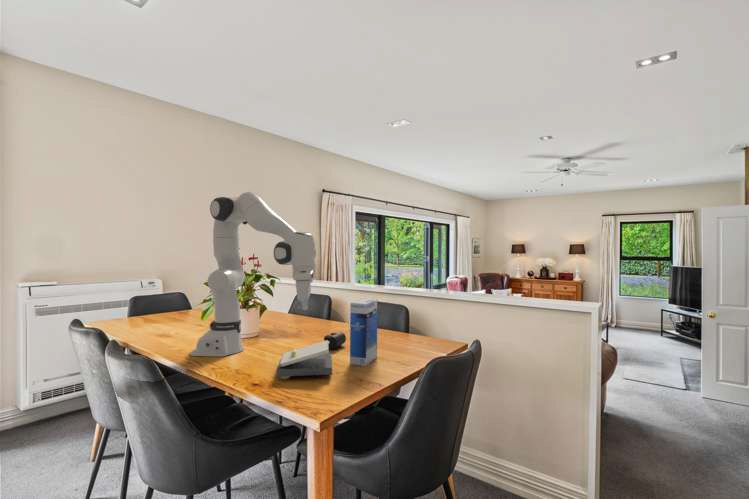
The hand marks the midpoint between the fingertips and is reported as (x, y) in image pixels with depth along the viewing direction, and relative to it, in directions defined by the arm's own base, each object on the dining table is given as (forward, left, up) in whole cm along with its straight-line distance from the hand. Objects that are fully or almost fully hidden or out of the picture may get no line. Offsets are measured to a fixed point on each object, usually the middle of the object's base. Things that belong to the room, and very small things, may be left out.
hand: (305, 309), depth 142 cm
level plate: (0, 0, -18) cm, 18 cm away
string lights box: (+24, +12, -25) cm, 37 cm away
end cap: (+12, +34, -25) cm, 44 cm away
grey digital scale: (0, 0, -25) cm, 25 cm away
